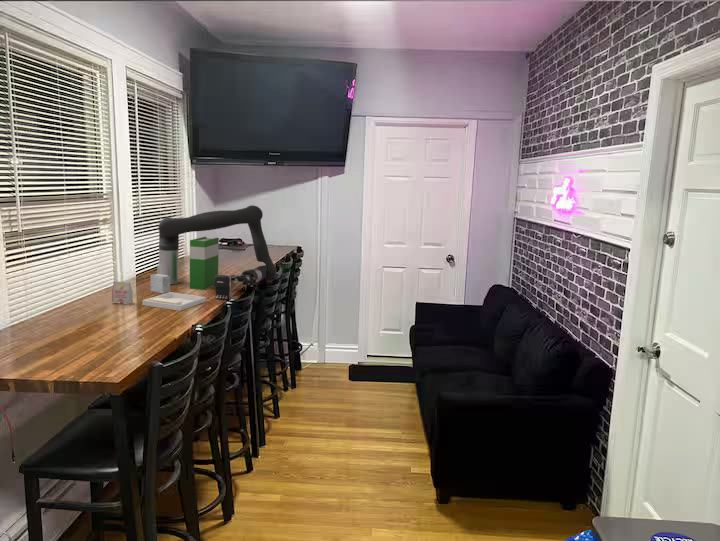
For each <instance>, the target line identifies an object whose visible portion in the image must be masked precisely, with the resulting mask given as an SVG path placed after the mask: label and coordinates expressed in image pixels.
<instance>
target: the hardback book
mask: <svg viewBox="0 0 720 541" xmlns="http://www.w3.org/2000/svg"><path fill="white" fill-rule="evenodd" d="M219 242H220V241H219V237H213V238H210V237H209V238H208V237H207V236H202V237H198V238H194V239H190V240H189V289H192V290H201V291H202V290H203V291H204V290H207V289H209V288H211V287H213V286H214V281H215V276H217V275H219V250H220V248H219V244H220V243H219Z"/></svg>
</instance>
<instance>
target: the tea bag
mask: <svg viewBox="0 0 720 541" xmlns="http://www.w3.org/2000/svg"><path fill="white" fill-rule="evenodd" d="M111 290H112V291H111V303H112V302H120V303H126V304H129V303H130V302H133V303H134V300H133V299H134V295H133V293H134V292H133V288H132V285H131V282H129V281H113V285H112V289H111ZM129 305H130V304H129Z"/></svg>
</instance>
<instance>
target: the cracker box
mask: <svg viewBox="0 0 720 541" xmlns="http://www.w3.org/2000/svg"><path fill="white" fill-rule="evenodd" d="M151 301H154V302H161V303H168V304H174V305H182V301H179V300H171V299H164V298H154V299H151Z"/></svg>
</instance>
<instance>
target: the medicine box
mask: <svg viewBox="0 0 720 541" xmlns="http://www.w3.org/2000/svg"><path fill="white" fill-rule="evenodd" d="M149 280H150V292H151V291H153V292H152V293H159V294H166V293H169V292H171V288H170V287H171V284H170V276H167V275H162V274H157V273H154V274H150V278H149Z"/></svg>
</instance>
